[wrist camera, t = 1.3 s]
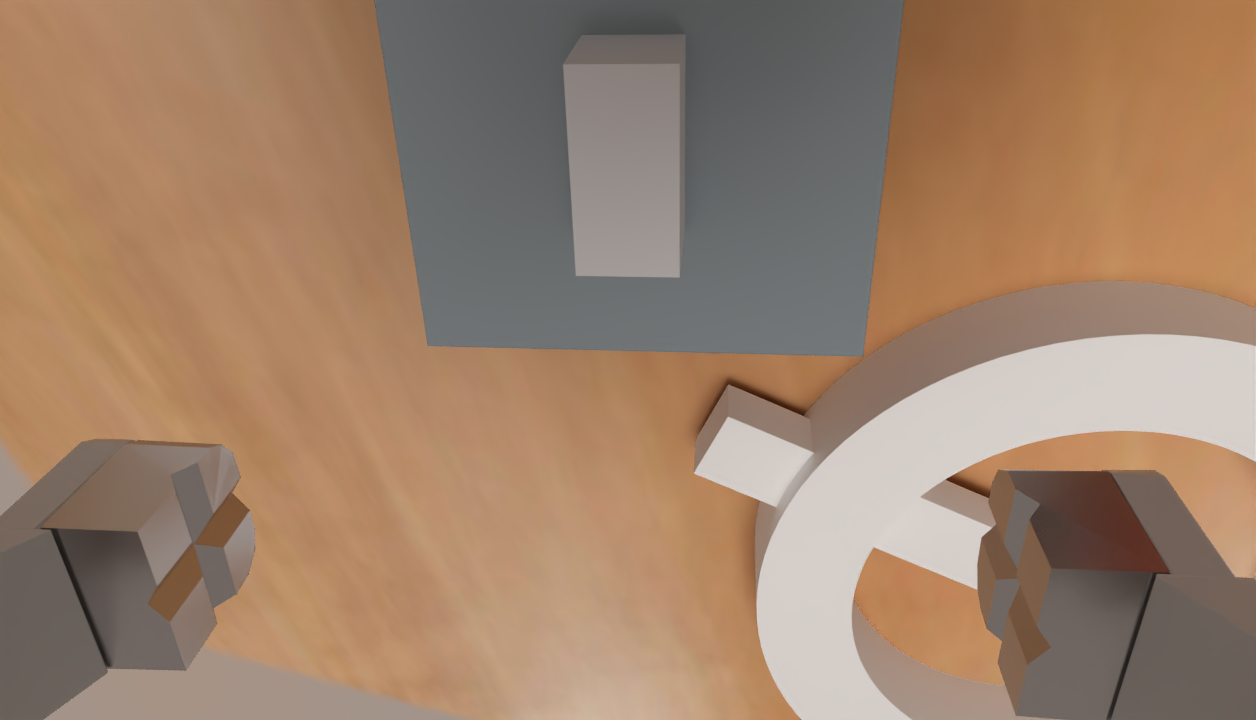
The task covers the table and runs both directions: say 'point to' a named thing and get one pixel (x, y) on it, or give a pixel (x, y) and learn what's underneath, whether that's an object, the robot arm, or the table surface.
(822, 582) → the ring with crossbar
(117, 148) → the table surface
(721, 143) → the lid
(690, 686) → the table surface
